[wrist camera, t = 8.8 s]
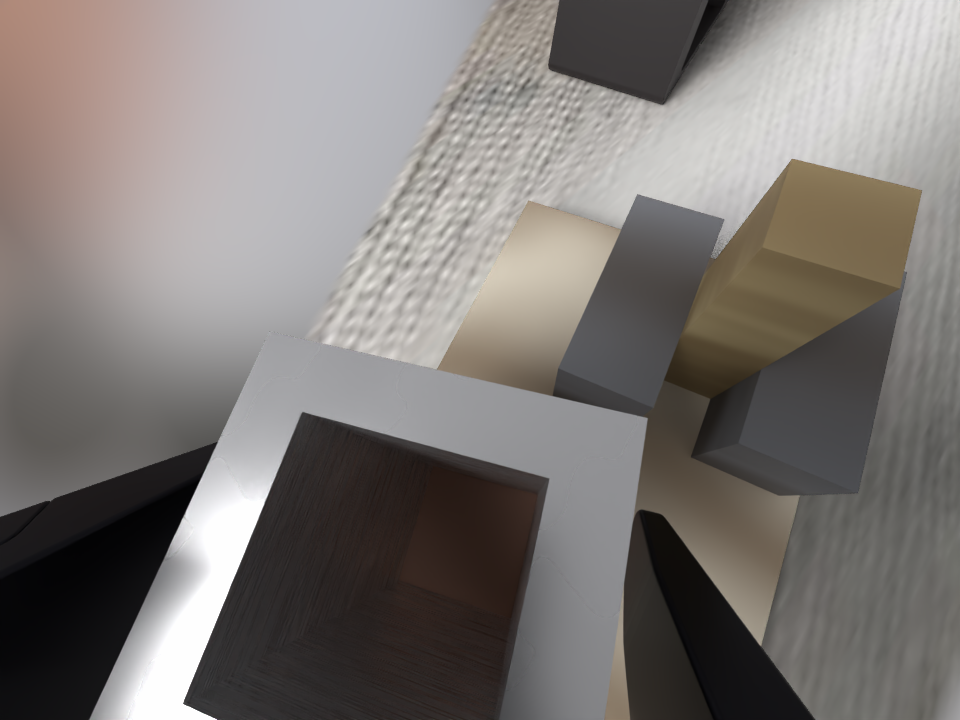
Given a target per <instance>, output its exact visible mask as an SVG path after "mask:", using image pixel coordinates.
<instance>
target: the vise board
mask: <svg viewBox="0 0 960 720" xmlns="http://www.w3.org/2000/svg"><path fill="white" fill-rule="evenodd" d="M921 193H922V190H918V189H914V188H910V187H906V186H902V185H898V184H894V183H890V182H885V181H881V180H877V179H873V178H869V177H865V176H861V175H857V174H853V173H848V172H844V171H840V170H836V169H832V168H828V167H824V166H820V165H816V164H812V163H807V162H803V161H799V160H795V159H792V160H791V161H790V162H789V164H788V165H787V166H786V168H785V169H784V170H783V172H782V173H781V174H780V176H779V177H778V178H777V180H776V181H775V182H774V184H773V185H772V186H771V187H770V189H769V190H768V191H767V193H766V194H765V195H764V197H763V198H762V199H761V201H760V202H759V203H758V205H757V206H756V207H755V209H754V210H753V211H752V212H751V214H750V215H749V216H748V218H747V219H746V220H745V222H744V223H743V224H742V226H741V227H740V228H739V230H738V231H737V232H736V234H735V235H734V236H733V238H732V239H731V240H730V241H729V243H728V244H727V245H726V247H725V248H724V249H723V251H722V252H721V253H720V255H719V256H718V257H717V259H713V258H710V256H711V254H712V251H713V248H714V246H715V243H716V240H717V238H718V235H719V232H720V230H721V227H722V224H723V222H724V219H721V218H718V217H714V216H711V215H707V214H704V213H700V212H697V211H693V210H690V209H686V208H683V207H680V206H676V205H673V204H669V203H666V202H662V201H659V200H655V199H652V198H648V197H645V196H641V195H638V194H637V196H636V199H635V201H634V203H633V205H632V207H631V210H630V212H629V214H628V216H627V218H626V221H625V223H624V225H623V227H622V229H617V228H614V227H611V226H608V225H605V224H601V223H598V222H595V221H592V220H589V219H586V218H582V217H579V216H576V215H573V214H570V213H566V212H563V211H560V210H557V209H554V208H550V207H547V206H544V205H541V204H538V203H535V202H531V201H528V203H527V204H526V206H525V208H524V210H523V212H522V214H521V216H520V217H519V219H518V221H517V223H516V225H515V227H514V228H513V230H512V232H511V234H510V236H509V238H508V239H507V241H506V243H505V245H504V247H503V249H502V251H501V252H500V254H499V256H498V258H497V260H496V262H495V263H494V265H493V267H492V269H491V271H490V273H489V275H488V276H487V278H486V280H485V282H484V284H483V286H482V287H481V289H480V291H479V293H478V295H477V297H476V299H475V300H474V302H473V304H472V306H471V308H470V310H469V311H468V313H467V315H466V317H465V319H464V321H463V323H462V324H461V326H460V328H459V330H458V332H457V334H456V335H455V337H454V339H453V341H452V343H451V345H450V347H449V348H448V350H447V352H446V354H445V356H444V358H443V359H442V361H441V363H440V365H439V367H438V369H437V370H440V371H444V372H449V373H453V374H458V375H462V376H466V377H471V378H475V379H479V380H484V381H488V382H492V383H497V384H501V385H506V386H510V387H514V388H519V389H523V390H527V391H532V392H536V393H540V394H545V395H549V396H553V397H558V398H562V399H567V400H571V401H575V402H580V403H584V404H588V405H593V406H597V407H601V408H606V409H610V410H614V411H619V412H623V413H628V414H632V415H636V416H641V417H645V418H648V420H647V426H646V433H645V440H644V447H643V454H642V461H641V468H640V475H639V482H638V489H637V496H636V503H635V510H634V517H635V514H636V512H637V511H638V510H640V509H643V510H647V511H652V512H656V513H660V514H662V515H663V516H664V517H665V518H666V519H667V521H668V522H669V523H670V525H671V526H672V527H673V529H674V530H675V531H676V533H677V534H678V535H679V537H680V538H681V539H682V541H683V542H684V543H685V545H686V546H687V547H688V549H689V550H690V552H691V553H692V554H693V556H694V557H695V558H696V560H697V561H698V562H699V564H700V565H701V566H702V568H703V569H704V570H705V572H706V573H707V574H708V576H709V577H710V578H711V580H712V581H713V582H714V584H715V585H716V587H717V588H718V589H719V591H720V592H721V593H722V595H723V596H724V597H725V599H726V600H727V601H728V603H729V604H730V605H731V607H732V608H733V609H734V611H735V612H736V613H737V615H738V616H739V617H740V619H741V620H742V622H743V623H744V624H745V626H746V627H747V628H748V630H749V631H750V632H751V634H752V635H753V636H754V638H755V639H756V640H757V642H758V643H759V644H760V646H761V645H762V641H763V637H764V633H765V629H766V625H767V621H768V618H769V614H770V610H771V606H772V602H773V598H774V594H775V591H776V587H777V583H778V579H779V575H780V571H781V567H782V563H783V560H784V556H785V552H786V548H787V544H788V540H789V536H790V533H791V529H792V525H793V521H794V517H795V513H796V509H797V506H798V502H799V498H800V495H822V494H852V493H858V491H859V486H860V482H861V477H862V473H863V468H864V464H865V459H866V455H867V450H868V446H869V441H870V437H871V432H872V428H873V423H874V419H875V414H876V409H877V405H878V400H879V396H880V391H881V387H882V382H883V378H884V373H885V369H886V364H887V360H888V355H889V351H890V346H891V342H892V337H893V333H894V328H895V324H896V319H897V315H898V310H899V305H900V301H901V296H902V292H903V287H904V283H905V278H906V274H907V272H905V271H904V269H905V264H906V260H907V255H908V251H909V246H910V242H911V238H912V233H913V229H914V224H915V220H916V215H917V211H918V206H919V202H920V197H921ZM536 500H537V495H536V494H533V493H529V492H526V491H522V490H518V489H515V488H511V487H508V486H504V485H500V484H497V483H493V482H490V481H486V480H482V479H479V478H475V477H472V476H468V475H465V474H461V473H457V472H454V471H450V470H447V469H443V468H439V467H436V466H433V468H432V471H431V474H430V478H429V481H428V484H427V488H426V491H425V494H424V498H423V501H422V505H421V508H420V511H419V515H418V518H417V521H416V525H415V528H414V531H413V535H412V538H411V542H410V545H409V548H408V552H407V555H406V558H405V562H404V565H403V568H402V572H401V575H400V579H399V580H400V581H403V582H406V583H409V584H412V585H414V586H417V587H420V588H423V589H426V590H429V591H432V592H435V593H438V594H441V595H444V596H447V597H449V598H452V599H455V600H458V601H461V602H464V603H467V604H470V605H473V606H476V607H479V608H482V609H484V610H487V611H490V612H493V613H496V614H499V615H502V616H505V617H508V618H511V616H512V611H513V606H514V602H515V597H516V592H517V588H518V583H519V578H520V574H521V569H522V565H523V560H524V555H525V551H526V546H527V541H528V537H529V532H530V528H531V523H532V518H533V514H534V509H535V504H536ZM634 517H633V520H634ZM623 606H624V586H623V593H622V600H621V607H620V614H619V621H618V628H617V635H616V642H615V649H614V655H613V662H612V669H611V676H610V683H609V690H608V697H607V704H606V711H605V718H604V720H630V714H629V703H628V692H627V681H626V670H625V660H624V645H623Z"/></svg>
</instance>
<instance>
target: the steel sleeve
mask: <svg viewBox="0 0 960 720" xmlns="http://www.w3.org/2000/svg"><path fill="white" fill-rule="evenodd" d="M647 420H648V418H645V417H641V416H636V415H632V414H628V413H623V412H619V411H614V410H610V409H606V408H601V407H597V406H593V405H588V404H584V403H580V402H575V401H571V400H567V399H562V398H558V397H553V396H549V395H545V394H540V393H536V392H532V391H527V390H523V389H519V388H514V387H510V386H506V385H501V384H497V383H492V382H488V381H484V380H479V379H475V378H471V377H466V376H462V375H458V374H453V373H449V372H444V371H440V370H436V369H431V368H427V367H423V366H418V365H414V364H410V363H405V362H401V361H397V360H392V359H388V358H383V357H379V356H375V355H370V354H366V353H362V352H357V351H353V350H349V349H344V348H340V347H336V346H331V345H327V344H322V343H318V342H314V341H309V340H305V339H301V338H296V337H292V336H288V335H283V334H279V333H275V332H269V334H268V336H267V338H266V340H265V342H264V344H263V347H262V349H261V351H260V353H259V355H258V357H257V360H256V362H255V364H254V366H253V368H252V370H251V372H250V375H249V377H248V379H247V381H246V383H245V385H244V388H243V390H242V392H241V394H240V396H239V398H238V401H237V403H236V405H235V407H234V409H233V411H232V413H231V416H230V418H229V420H228V422H227V424H226V426H225V428H224V431H223V433H222V435H221V437H220V439H219V441H218V444H217V446H216V448H215V450H214V452H213V454H212V456H211V459H210V461H209V463H208V465H207V467H206V469H205V472H204V474H203V476H202V478H201V480H200V482H199V484H198V487H197V489H196V491H195V493H194V495H193V497H192V500H191V502H190V504H189V506H188V508H187V510H186V512H185V515H184V517H183V519H182V521H181V523H180V525H179V528H178V530H177V532H176V534H175V536H174V538H173V540H172V543H171V545H170V547H169V549H168V551H167V553H166V556H165V558H164V560H163V562H162V564H161V566H160V568H159V571H158V573H157V575H156V577H155V579H154V581H153V584H152V586H151V588H150V590H149V592H148V594H147V596H146V599H145V601H144V603H143V605H142V607H141V609H140V612H139V614H138V616H137V618H136V620H135V622H134V624H133V627H132V629H131V631H130V633H129V635H128V637H127V640H126V642H125V644H124V646H123V648H122V650H121V652H120V655H119V657H118V659H117V661H116V663H115V665H114V668H113V670H112V672H111V674H110V676H109V678H108V680H107V683H106V685H105V687H104V689H103V691H102V693H101V696H100V698H99V700H98V702H97V704H96V706H95V708H94V711H93V713H92V715H91V717H90V719H89V720H604V718H605V711H606V704H607V697H608V690H609V683H610V676H611V669H612V662H613V655H614V649H615V642H616V635H617V628H618V621H619V614H620V607H621V600H622V593H623V586H624V579H625V572H626V565H627V558H628V551H629V544H630V538H631V531H632V524H633V517H634V510H635V503H636V496H637V489H638V482H639V475H640V468H641V461H642V454H643V447H644V440H645V433H646V426H647ZM433 466H436V467H439V468H443V469H447V470H450V471H454V472H457V473H461V474H465V475H468V476H472V477H475V478H479V479H482V480H486V481H490V482H493V483H497V484H500V485H504V486H508V487H511V488H515V489H518V490H522V491H526V492H529V493H533V494H536V495H537V500H536V504H535V509H534V514H533V518H532V523H531V528H530V532H529V537H528V541H527V546H526V551H525V555H524V560H523V565H522V569H521V574H520V578H519V583H518V588H517V592H516V597H515V602H514V606H513V611H512V616H511V618H508V617H505V616H502V615H499V614H496V613H493V612H490V611H487V610H484V609H482V608H479V607H476V606H473V605H470V604H467V603H464V602H461V601H458V600H455V599H452V598H449V597H447V596H444V595H441V594H438V593H435V592H432V591H429V590H426V589H423V588H420V587H417V586H414V585H412V584H409V583H406V582H403V581H400V580H399V579H400V575H401V572H402V568H403V565H404V562H405V558H406V555H407V552H408V548H409V545H410V542H411V538H412V535H413V531H414V528H415V525H416V521H417V518H418V515H419V511H420V508H421V505H422V501H423V498H424V494H425V491H426V488H427V484H428V481H429V478H430V474H431V471H432V468H433Z"/></svg>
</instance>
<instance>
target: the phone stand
mask: <svg viewBox="0 0 960 720" xmlns="http://www.w3.org/2000/svg"><path fill="white" fill-rule="evenodd" d="M728 1H729V0H560V1H559V7H558V12H557V18H556V24H555V29H554V35H553V41H552V47H551V52H550V58H549V64H548V67H549V69H550V70H553V71H557V72H560V73H563V74H566V75H570V76H573V77H576V78H579V79H582V80H586V81H589V82H592V83H595V84H599V85H602V86H605V87H608V88H611V89H615V90H618V91H621V92H624V93H628V94H631V95H634V96H637V97H640V98H644V99H647V100H650V101H653V102H657V103H660V104H664V102H665V100H666V99H667V97H668V96H669V94H670V92H671V91H672V89H673V88H674V86H675V85H676V83H677V81H678V80H679V78H680V77H681V75H682V74H683V72H684V70H685V69H686V67H687V66H688V64H689V62H690V61H691V59H692V58H693V56H694V55H695V53H696V51H697V50H698V48H699V46H700V44H702V42H703V40H704V39H705V37H706V36H707V34H708V32H709V31H710V29H711V28H712V26H713V25H714V23H715V21H716V20H717V18H718V17H719V15H720V14H721V12H722V10H723V9H724V7H725V6H726V4H727V2H728Z"/></svg>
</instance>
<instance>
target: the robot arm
mask: <svg viewBox="0 0 960 720" xmlns="http://www.w3.org/2000/svg"><path fill="white" fill-rule="evenodd" d="M217 444H218V442H216V443H213V444H210V445H207V446H204V447H202V448H198V449H196V450H193V451H190V452H187V453H184V454H181V455H178V456H175V457H172V458H170V459H167V460H164V461H161V462H158V463H155V464H152V465H149V466H147V467H144V468H141V469H138V470H135V471H132V472H129V473H126V474H123V475H121V476H118V477H115V478H112V479H109V480H106V481H103V482H100V483H97V484H94V485H92V486H89V487H86V488H83V489H80V490H77V491H74V492H72V493H69V494H66V495H63V496H60V497H57V498H55V499H53V500H52V501H45V502H42V503H39V504H36V505H33V506H31V507H28V508H25V509H22V510H19V511H16V512H13V513H10V514H7V515H4V516H1V517H0V720H89V719H90V717H91V715H92V713H93V711H94V708H95V706H96V704H97V702H98V700H99V698H100V696H101V693H102V691H103V689H104V687H105V685H106V683H107V680H108V678H109V676H110V674H111V672H112V670H113V668H114V665H115V663H116V661H117V659H118V657H119V655H120V652H121V650H122V648H123V646H124V644H125V642H126V640H127V637H128V635H129V633H130V631H131V629H132V627H133V624H134V622H135V620H136V618H137V616H138V614H139V612H140V609H141V607H142V605H143V603H144V601H145V599H146V596H147V594H148V592H149V590H150V588H151V586H152V584H153V581H154V579H155V577H156V575H157V573H158V571H159V568H160V566H161V564H162V562H163V560H164V558H165V556H166V553H167V551H168V549H169V547H170V545H171V543H172V540H173V538H174V536H175V534H176V532H177V530H178V528H179V525H180V523H181V521H182V519H183V517H184V515H185V512H186V510H187V508H188V506H189V504H190V502H191V500H192V497H193V495H194V493H195V491H196V489H197V487H198V484H199V482H200V480H201V478H202V476H203V474H204V472H205V469H206V467H207V465H208V463H209V461H210V459H211V456H212V454H213V452H214V450H215V448H216V446H217ZM623 645H624V660H625V670H626V681H627V692H628V703H629V714H630V720H815V718H814V717H813V716H812V714H811V713H810V712H809V710H808V709H807V708H806V706H805V705H804V704H803V702H802V701H801V700H800V698H799V697H798V696H797V694H796V693H795V692H794V690H793V689H792V687H791V686H790V685H789V683H788V682H787V681H786V679H785V678H784V677H783V675H782V674H781V673H780V671H779V670H778V669H777V667H776V666H775V665H774V663H773V662H772V661H771V659H770V658H769V657H768V655H767V654H766V652H765V651H764V650H763V648H762V647H761V646H760V644H759V643H758V642H757V640H756V639H755V638H754V636H753V635H752V634H751V632H750V631H749V630H748V628H747V627H746V626H745V624H744V623H743V622H742V620H741V619H740V617H739V616H738V615H737V613H736V612H735V611H734V609H733V608H732V607H731V605H730V604H729V603H728V601H727V600H726V599H725V597H724V596H723V595H722V593H721V592H720V591H719V589H718V588H717V587H716V585H715V584H714V582H713V581H712V580H711V578H710V577H709V576H708V574H707V573H706V572H705V570H704V569H703V568H702V566H701V565H700V564H699V562H698V561H697V560H696V558H695V557H694V556H693V554H692V553H691V552H690V550H689V549H688V547H687V546H686V545H685V543H684V542H683V541H682V539H681V538H680V537H679V535H678V534H677V533H676V531H675V530H674V529H673V527H672V526H671V525H670V523H669V522H668V521H667V519H666V518H665V517H664V516H663V515H662V514H660V513H656V512H652V511H647V510H643V509H640V510H638V511H637V512H636V514H635V517H634V520H633V524H632V531H631V538H630V544H629V551H628V558H627V565H626V572H625V579H624V606H623Z"/></svg>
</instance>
